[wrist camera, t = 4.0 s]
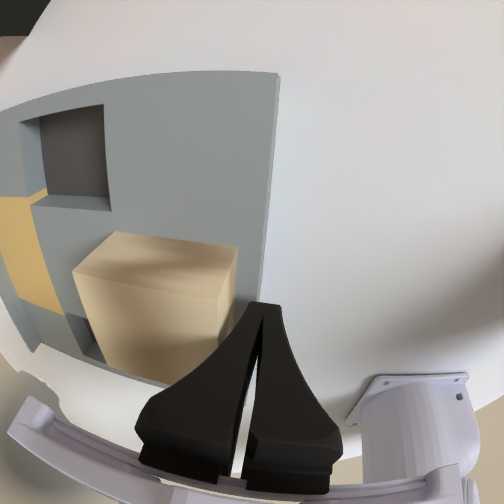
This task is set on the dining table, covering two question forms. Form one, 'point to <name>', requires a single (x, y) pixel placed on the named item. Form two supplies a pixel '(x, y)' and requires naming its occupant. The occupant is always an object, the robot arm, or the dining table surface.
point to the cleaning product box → (20, 16)
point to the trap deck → (130, 187)
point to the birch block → (158, 302)
